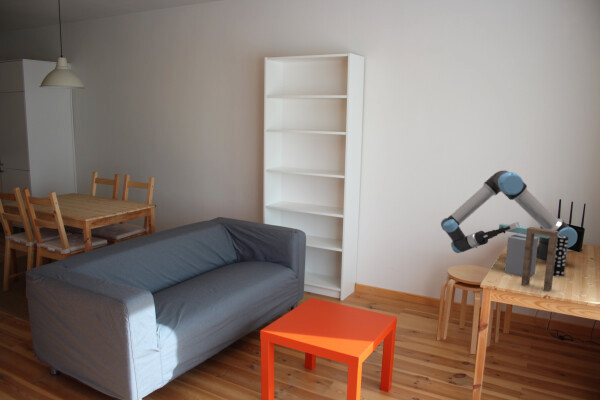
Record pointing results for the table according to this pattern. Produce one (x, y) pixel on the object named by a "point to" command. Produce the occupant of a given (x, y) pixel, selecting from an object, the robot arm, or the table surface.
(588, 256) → the table surface
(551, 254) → the stand
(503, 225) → the bar
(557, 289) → the table surface
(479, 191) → the robot arm
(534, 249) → the block
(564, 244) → the white-spotted black cylinder
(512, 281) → the table surface
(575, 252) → the table surface
